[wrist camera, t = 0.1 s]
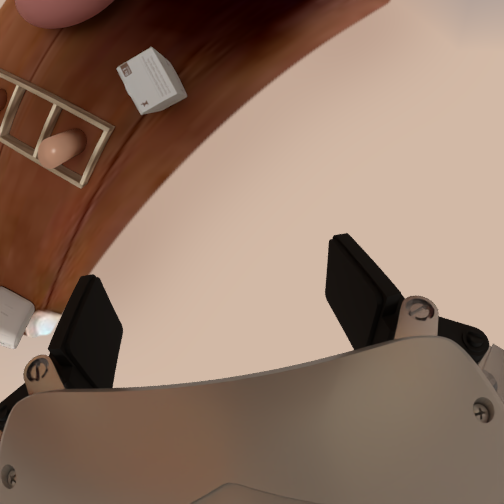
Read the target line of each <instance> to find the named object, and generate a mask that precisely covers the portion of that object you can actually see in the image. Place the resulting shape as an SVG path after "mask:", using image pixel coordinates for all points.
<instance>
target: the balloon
mask: <svg viewBox="0 0 504 504" xmlns="http://www.w3.org/2000/svg"><path fill="white" fill-rule="evenodd" d="M113 1H114V0H15V4H16V8H17V10H18V12H19V14H20V15H21V16H22V17H23V18H24V19H25V20H26V21H27V22H29V23H30V24H32V25H34V26H37V27H41V28H47V29H57V28H65V27H69V26H73V25H76V24H79V23H81V22H84V21H86V20H88V19H90V18H92V17H93V16H95V15H97V14H98V13H100V12H101V11H102V10H104V9H105V8H106V7H107V6H109V5H110V4H111V3H112V2H113Z"/></svg>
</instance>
